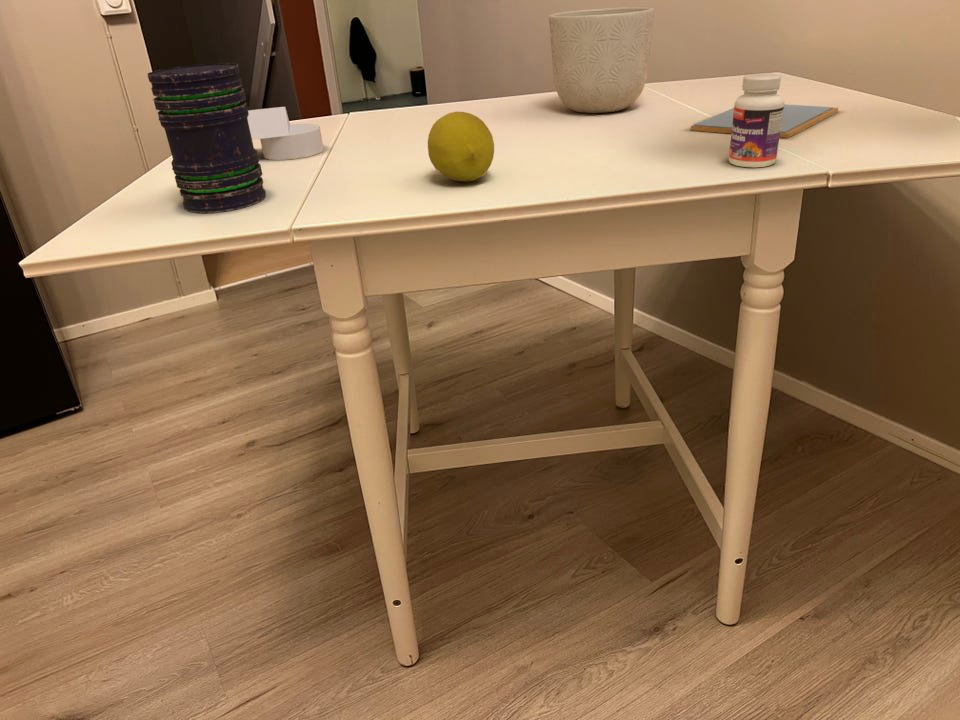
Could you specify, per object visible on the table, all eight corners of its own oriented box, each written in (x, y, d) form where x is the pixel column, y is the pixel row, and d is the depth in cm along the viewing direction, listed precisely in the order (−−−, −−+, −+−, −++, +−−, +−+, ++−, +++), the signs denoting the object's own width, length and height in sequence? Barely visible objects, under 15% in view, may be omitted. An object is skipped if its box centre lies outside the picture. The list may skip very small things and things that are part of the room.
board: (838, 111, 107) (839, 106, 106) (787, 138, 94) (788, 132, 94) (747, 106, 115) (748, 101, 115) (690, 130, 103) (690, 124, 102)
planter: (646, 98, 128) (651, 5, 121) (652, 116, 114) (658, 11, 106) (553, 103, 131) (551, 11, 124) (547, 120, 116) (545, 18, 109)
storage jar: (239, 185, 92) (210, 62, 85) (283, 196, 86) (256, 63, 79) (167, 206, 85) (129, 74, 78) (209, 218, 79) (172, 76, 72)
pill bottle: (719, 164, 85) (727, 78, 80) (744, 155, 88) (753, 71, 83) (760, 170, 81) (771, 80, 77) (785, 161, 84) (797, 74, 80)
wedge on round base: (234, 165, 102) (324, 155, 104) (222, 117, 99) (316, 107, 101) (239, 153, 110) (322, 143, 112) (228, 108, 107) (315, 99, 109)
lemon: (503, 186, 83) (500, 115, 79) (438, 194, 82) (431, 123, 78) (485, 166, 92) (481, 101, 88) (426, 173, 91) (419, 108, 87)
